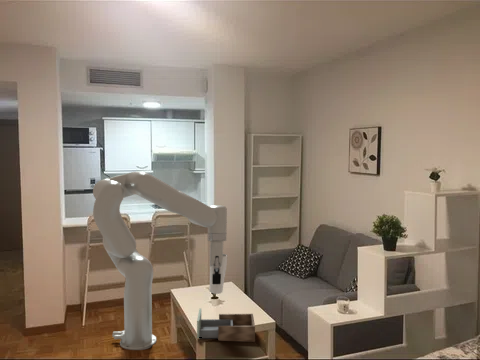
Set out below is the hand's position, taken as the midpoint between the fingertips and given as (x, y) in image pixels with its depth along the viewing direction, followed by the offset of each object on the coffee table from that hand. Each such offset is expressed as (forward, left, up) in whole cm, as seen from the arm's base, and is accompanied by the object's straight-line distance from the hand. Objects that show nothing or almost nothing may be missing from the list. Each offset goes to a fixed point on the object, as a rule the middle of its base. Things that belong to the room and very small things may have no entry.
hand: (216, 280), depth 159 cm
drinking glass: (0, 0, -5) cm, 5 cm away
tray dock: (+8, -7, -19) cm, 22 cm away
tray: (0, -7, -18) cm, 19 cm away
